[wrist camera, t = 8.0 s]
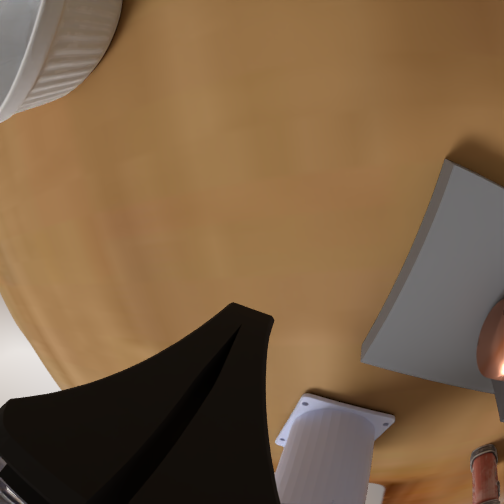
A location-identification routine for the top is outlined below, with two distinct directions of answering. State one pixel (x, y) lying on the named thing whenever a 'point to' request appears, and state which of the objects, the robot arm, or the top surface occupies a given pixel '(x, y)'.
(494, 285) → the housing
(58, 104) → the top surface
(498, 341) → the shaft
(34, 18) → the ramekin
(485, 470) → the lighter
